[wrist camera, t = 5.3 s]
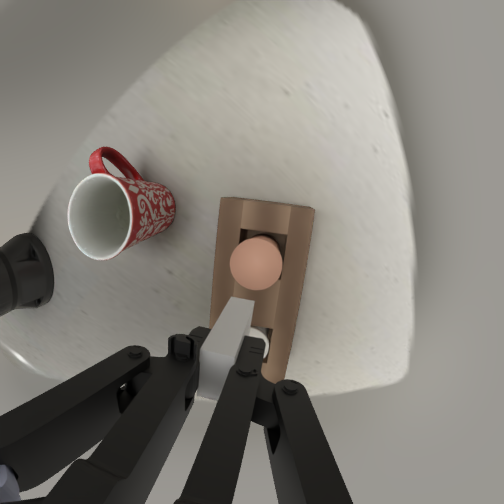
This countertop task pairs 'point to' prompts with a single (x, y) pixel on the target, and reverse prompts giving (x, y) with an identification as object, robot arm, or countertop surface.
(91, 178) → the mug
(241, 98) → the countertop surface
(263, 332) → the cream plug
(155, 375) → the robot arm
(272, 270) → the terracotta plug
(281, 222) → the walnut block
